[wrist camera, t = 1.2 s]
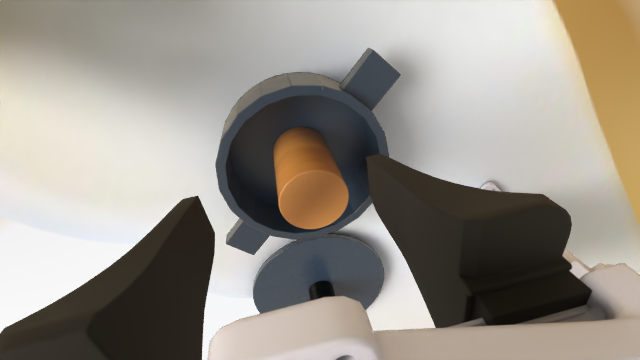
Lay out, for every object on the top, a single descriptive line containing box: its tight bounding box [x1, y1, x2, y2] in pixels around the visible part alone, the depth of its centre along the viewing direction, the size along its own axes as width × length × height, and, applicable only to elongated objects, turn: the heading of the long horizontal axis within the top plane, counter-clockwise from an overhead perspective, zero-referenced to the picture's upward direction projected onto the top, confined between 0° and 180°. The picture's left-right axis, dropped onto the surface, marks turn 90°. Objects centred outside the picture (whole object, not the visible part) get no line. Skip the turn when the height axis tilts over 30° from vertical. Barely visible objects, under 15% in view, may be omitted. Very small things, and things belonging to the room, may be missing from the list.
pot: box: [215, 48, 400, 255], centre depth 22 cm, size 11×17×4 cm
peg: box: [273, 127, 349, 229], centre depth 20 cm, size 4×4×7 cm
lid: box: [253, 234, 384, 314], centre depth 29 cm, size 13×13×4 cm
